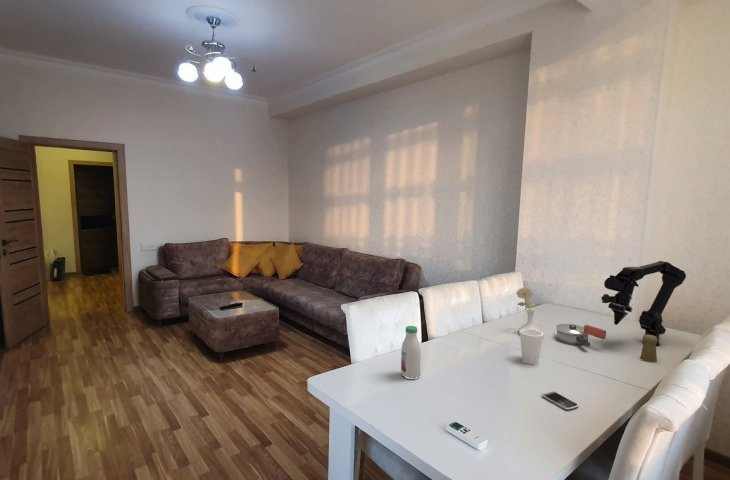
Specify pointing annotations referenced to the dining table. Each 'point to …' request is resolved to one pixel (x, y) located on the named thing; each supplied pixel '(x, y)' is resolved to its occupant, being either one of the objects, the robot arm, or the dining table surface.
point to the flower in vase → (525, 294)
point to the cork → (649, 348)
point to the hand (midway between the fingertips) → (615, 324)
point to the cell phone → (560, 401)
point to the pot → (573, 339)
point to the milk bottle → (411, 354)
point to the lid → (581, 330)
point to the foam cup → (531, 345)
